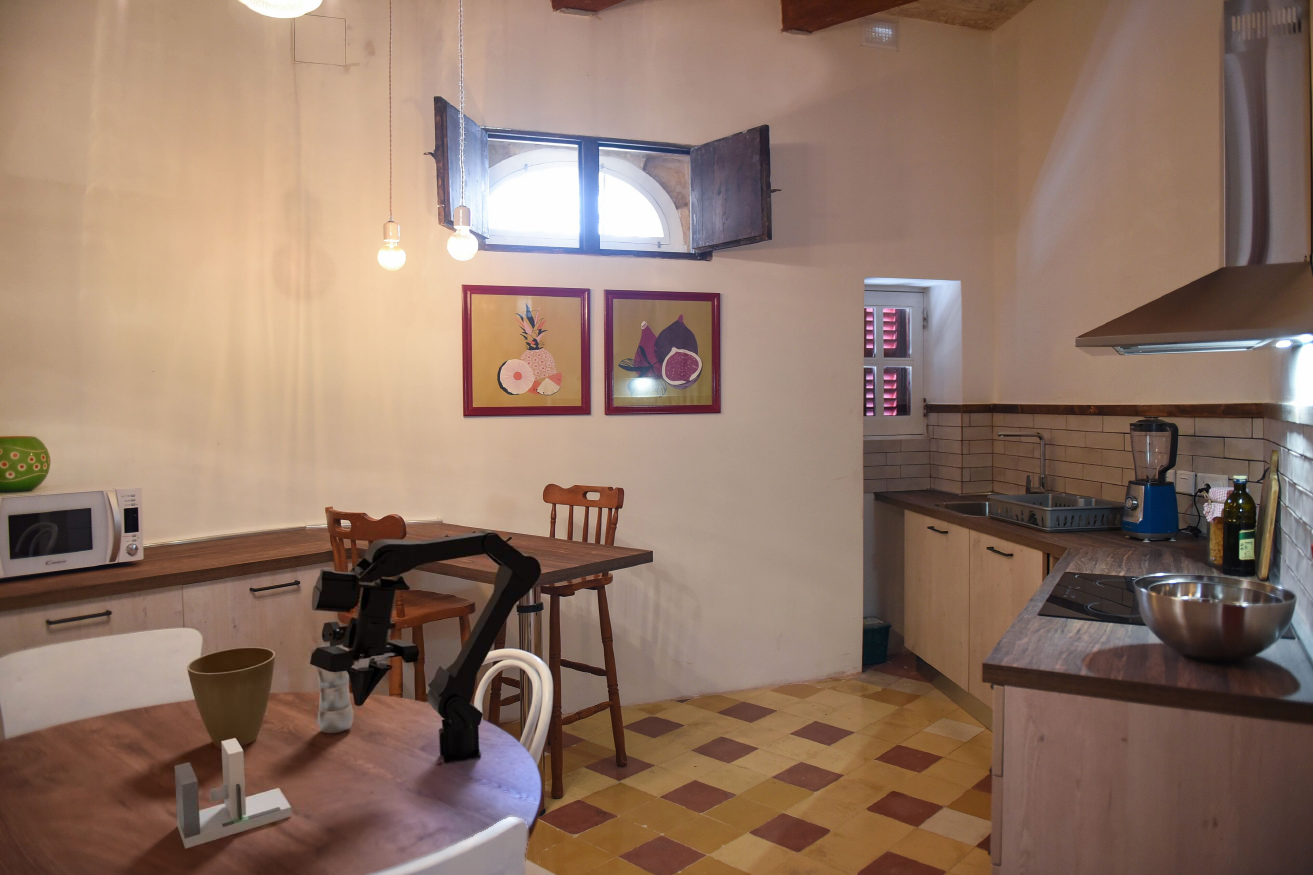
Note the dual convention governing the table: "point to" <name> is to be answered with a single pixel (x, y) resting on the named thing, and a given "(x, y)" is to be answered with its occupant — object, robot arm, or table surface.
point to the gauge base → (220, 823)
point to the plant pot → (232, 691)
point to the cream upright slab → (232, 780)
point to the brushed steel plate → (187, 800)
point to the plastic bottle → (334, 699)
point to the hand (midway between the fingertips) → (358, 705)
